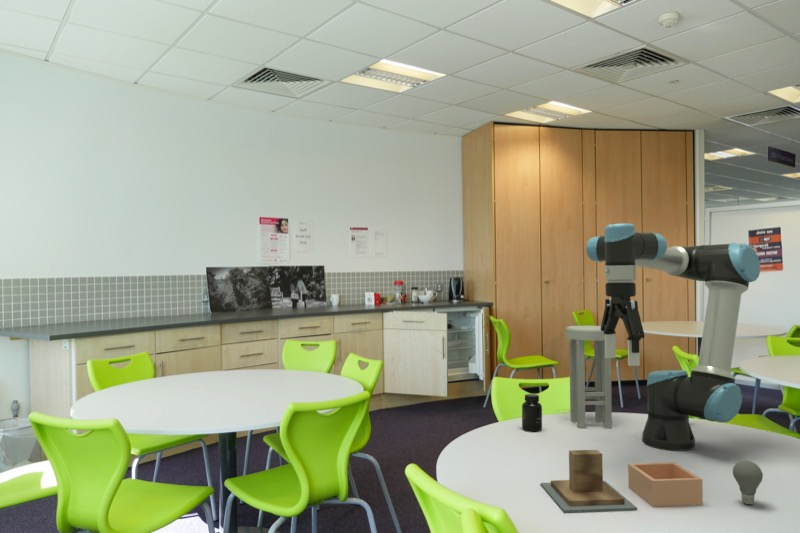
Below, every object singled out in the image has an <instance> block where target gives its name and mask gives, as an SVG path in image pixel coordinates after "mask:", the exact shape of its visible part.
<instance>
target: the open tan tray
mask: <svg viewBox="0 0 800 533" xmlns="http://www.w3.org/2000/svg"><path fill="white" fill-rule="evenodd" d="M627 472H628V474H627V475H628V476H627V477H628V479H627V481H628V482H627V483H628V484H627V486H628V487H627V488H628V489H629V490H631V491H632V492H633V493H635V494H636V495H637V496H638V497H640V498H641V499H642V500H643V501H645V502H646V503H647V504H648V505H649V506H651V507H652V508H660V507H661V508H663V507H687V506H688V507H691V506H690V505H696V506H703V505H704V504H703V503H704V502H703V499H704V495H703V494H704V493H703V491H704V490H703V479H702V478H700V477H699V476H698V475H696V474H694V473H693V472H691V471H689V470H687V469H686V468H684V467H683V466H681V465H679V464H677V463H676V462H642V463H627Z"/></svg>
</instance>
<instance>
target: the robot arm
mask: <svg viewBox="0 0 800 533" xmlns="http://www.w3.org/2000/svg"><path fill="white" fill-rule="evenodd" d="M585 246H586V250H585V253H586V255H587V257H588V259H590V260H591V261H593V262H599V263H602V262H604V263H605V264H604V265H605V269H603V272H604V274H605V280H606V281H607V282H606V283H605V285H604V286H605V297H609V298H605V300H604V310H603V315H602V321H601V325H600V326H601V331H603V332H604V334H605V358H611V359H616V358H617V356H616V355H617V354H616V353H617V352H616V350H617V349H616V333H617V332H616V328H617V325H618V322H619V320H622V323H623V325H624V328H625V330H626V333H627V335H628V337H627V338H626V340H627V365H628V366H629V367H630V366H631V367H633V366H634V367H637V366H638V367H639V366H641V363H640V362H641V361H640V360H641V358H640V357H641V354H640V349H641V348H640V341H641V340H642V339H645V332H644V328H643V325H642V320H641V316H640V312H639V311H640V310H639V306H638V305H639V304H638V301H637V300H631V298H632V297H635V296H636V294H637V293H636V292H637V290H636V288H637V286H636V285H637V284H636V283H635V282H634V281H635V280H637V276H636V274H637V272H636V268H637V267H640V268H645V269H652V270H657V271H662V272H663V271H664V273H665V274H666V275H669V276H673V277H677V278H682V279H686V280H687V279H688V280H690V281H698V282H704V286H706V287H707V289H708V290H709V291H708V296H707V297H708V298H707V302H706V303H707V304H706V310H705V316H704V324H703V330H702V336H701V337H702V338H701V343H700V349H699V356H698V362H697V365H696V367H694V368H692V369H691V370H690V371H691V372H690V376H689V374H688V371H686V370H684V369H672V370H671V369H670V370H667V369H666V370H654V371H650V372H649V374H647V383H646V394H647V419H646V422H645V425H644V428H643V430H642V433H641V434H642V439H641V440H642V442H643V444H645V445H647V446H650V447H653V448H657V449H662V450H670V451H689V450H692V449H694V448H695V447H696V440H695V439H696V438H695V436H694V433H693V430H692V428H691V424H690V420H689V421H688V415H689V417H693V418H697V419H702V420H706V421H709V422H717V423H727V422H730V421H732V420H733V419H734V418H735V417H736V416H737V415H738V413H739V411H740V410H741V406H742V403H743V394H741V393H742V389H741V388H740V386H739V385H737V384H736V383H735V382H736V378H735V376H734V375H733V374H732V373H731V370H732V369H731V368H732V364H733V356H734V348H735V340H736V334H737V327H738V320H739V312H740V309H741V308H740V305H741V301H742V300H741V299H742V294H744V293H745V292H747V291H748V290H749V285H750V283H753V282H755V281H757V280H758V278H760V274H761V263H760V259H759V256H758V254H757V252H756V250H755V249H754V248H753V247H752V246H751V245H749V244H746V243H734V242H731V243H722V244H719V243H718V244H702V245H693V246H679V245H673V246H670V247H668V244H667V241H666V238H665V237H664V236H663V235H662V234H659V233H657V232H656V233H655V232H653V231H652V232H636V228H635V225H634V224H632V223H627V222H626V223H623V222H622V223H611V224H607V225H606V226H605V228H604V235H598V236H593V237H591V238H589V240H587V243H586V245H585ZM610 297H611V298H610Z"/></svg>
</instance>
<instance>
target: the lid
mask: <svg viewBox="0 0 800 533" xmlns="http://www.w3.org/2000/svg"><path fill="white" fill-rule="evenodd" d="M568 465H569V466H568V470H569V471H568V474H569V475H568V476H569V477H568V479H561V480H560V479H559V480H550V483H551V486H552V487H553V488H554V490H555V491H556V492H557V493H558V494H559V495H560V496H561V497H562V498H563V500H564V501H565V502H566V503H567V504H568V505H569V506H593V505H622V504H625V500H624V498H622V497H621V496H620V495H619V494H618V493H617V492H615V491H614V490H613V489H612V488H611V487H610V486H608V485H607V484H606V483H605V482H604V481H605V480H604V479H603V478H604V477H603V472H604V471H603V468H604V467H603V453H602V452H600V451H599V450H598V449H580V450H579V449H578V450H576V449H575V450H568Z"/></svg>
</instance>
